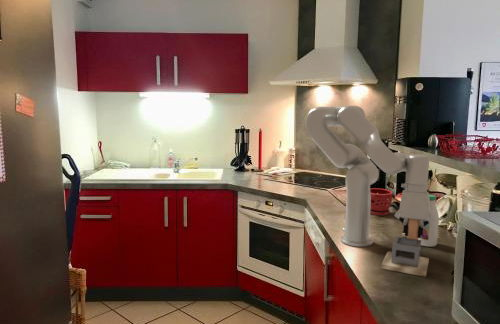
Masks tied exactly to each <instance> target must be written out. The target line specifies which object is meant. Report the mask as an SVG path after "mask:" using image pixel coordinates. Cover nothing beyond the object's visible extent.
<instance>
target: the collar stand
mask: <svg viewBox="0 0 500 324" xmlns="http://www.w3.org/2000/svg"><path fill="white" fill-rule="evenodd" d="M421 248H422V245H421V240H417V239H410V238H407V237H401V236H395V237H394V239H393V242H392V247H391V251H390V250H389V251H387V252H386V253H385V256H384V258H383V260H382V262H381V264H380V265H381V267H380V268H381V269H383V270H387V271H393V272H399V273H403V274H404V273H405V274H410V275H414V276H415V275H416V276H420V277H427V273H428V267H429V264H430V263H429V262H430V258H429V257H426V256H425V257H424V256H421Z"/></svg>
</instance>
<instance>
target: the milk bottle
mask: <svg viewBox="0 0 500 324" xmlns="http://www.w3.org/2000/svg"><path fill="white" fill-rule="evenodd" d="M429 198H430V212H431V214H432V216H433V217H434V219H435V220H434V221H433V222H431V223H428V224H427V225H426V226H424V227H423V236H422V235H421V237H420V238H418V240H421V246H423V247H436V246H437V244H438V235H439V223H440V222H439V221H440V219H439V218H440V217H439V211H438V209H437V206H436V201H437V196H436V195H434V194H430V193H429ZM428 219H429V218H428ZM424 221H426V220H424ZM419 226H420V223H419Z"/></svg>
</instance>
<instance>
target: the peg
mask: <svg viewBox="0 0 500 324" xmlns="http://www.w3.org/2000/svg"><path fill="white" fill-rule="evenodd" d="M407 223H408V230H407V236H406V238H410V239H417V240H418V231H419V223H420V220H415V219H408V221H407Z"/></svg>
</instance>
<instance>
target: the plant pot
mask: <svg viewBox="0 0 500 324" xmlns="http://www.w3.org/2000/svg"><path fill="white" fill-rule="evenodd" d="M370 193H371V208H370V215H374V216H386V215H388V214H390V207H391V205H392V201H393V191H392V190H390V189H386V188H385V189H384V188H379V187H378V188H376V187H374V188H373V187H372V188H371V187H370Z"/></svg>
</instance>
